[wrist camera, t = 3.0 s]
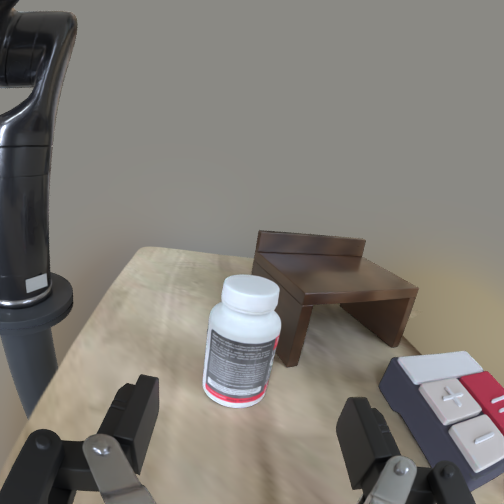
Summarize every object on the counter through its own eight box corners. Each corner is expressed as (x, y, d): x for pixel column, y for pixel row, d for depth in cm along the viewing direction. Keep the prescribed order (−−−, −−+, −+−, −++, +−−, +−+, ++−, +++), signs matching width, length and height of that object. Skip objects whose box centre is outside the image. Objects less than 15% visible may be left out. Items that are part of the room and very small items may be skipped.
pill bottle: (276, 403, 24) (303, 298, 21) (214, 415, 22) (229, 302, 19) (249, 366, 28) (268, 269, 26) (194, 372, 26) (204, 269, 23)
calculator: (480, 474, 12) (393, 350, 26) (445, 506, 13) (376, 384, 27) (547, 431, 13) (467, 344, 27) (520, 463, 15) (451, 375, 29)
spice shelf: (286, 367, 29) (311, 267, 26) (245, 310, 40) (258, 230, 37) (398, 346, 35) (425, 268, 32) (345, 305, 46) (362, 238, 43)
